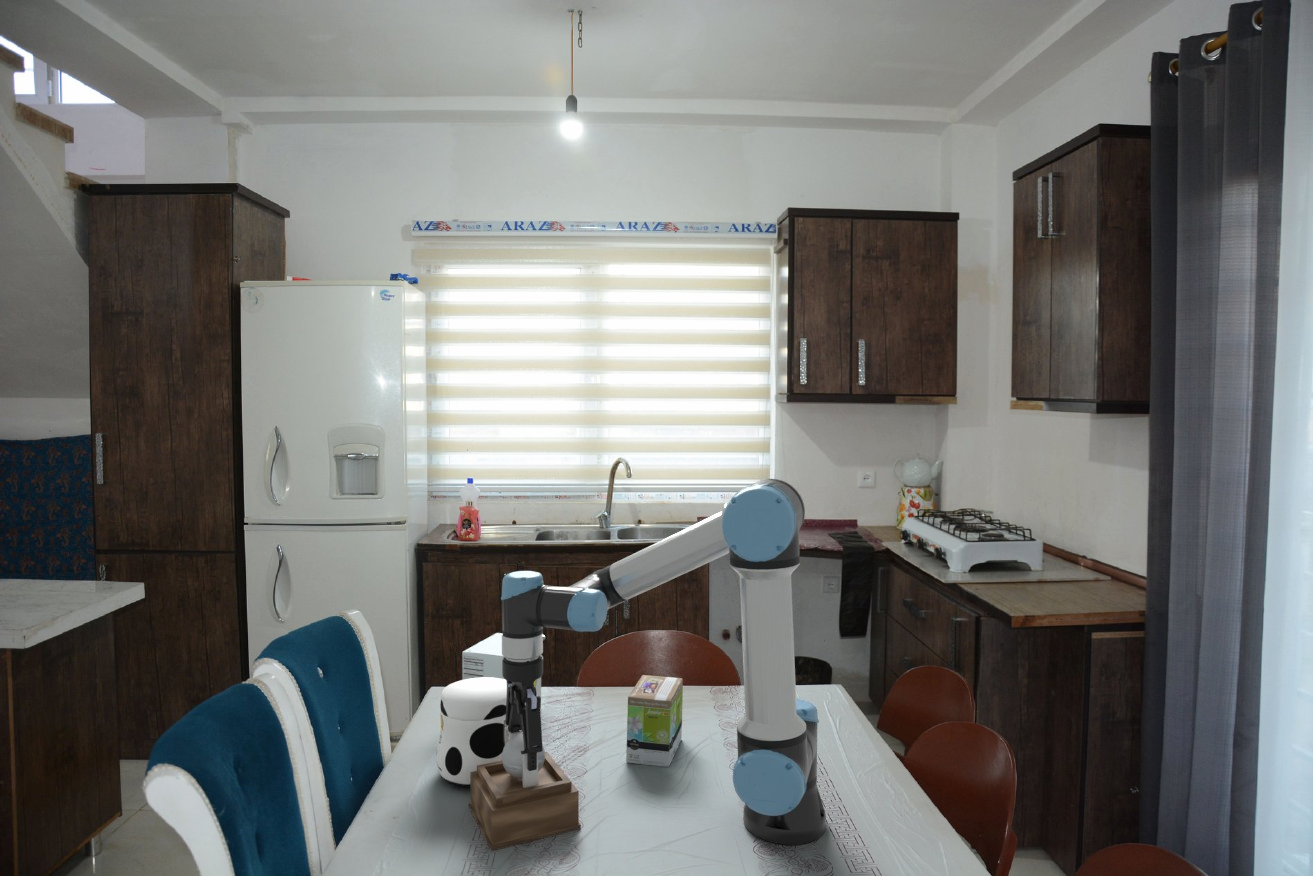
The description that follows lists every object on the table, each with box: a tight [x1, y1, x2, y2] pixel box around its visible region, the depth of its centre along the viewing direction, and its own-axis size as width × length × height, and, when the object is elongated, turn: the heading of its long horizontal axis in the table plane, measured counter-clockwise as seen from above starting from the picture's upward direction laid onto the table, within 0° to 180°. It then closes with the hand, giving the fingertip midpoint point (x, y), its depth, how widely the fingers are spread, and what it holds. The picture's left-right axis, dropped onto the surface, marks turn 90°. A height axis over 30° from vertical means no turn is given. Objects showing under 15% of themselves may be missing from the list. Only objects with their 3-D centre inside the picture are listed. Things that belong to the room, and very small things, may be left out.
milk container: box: [435, 677, 511, 787], centre depth 169 cm, size 17×17×18 cm
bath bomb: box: [502, 733, 546, 779], centre depth 152 cm, size 8×8×8 cm
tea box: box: [625, 674, 684, 768], centre depth 181 cm, size 15×10×15 cm
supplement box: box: [461, 632, 542, 699], centre depth 200 cm, size 17×13×18 cm
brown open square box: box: [468, 751, 582, 852], centre depth 152 cm, size 17×17×8 cm
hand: (523, 775), depth 152 cm, fingers closed on bath bomb, 8 cm apart
